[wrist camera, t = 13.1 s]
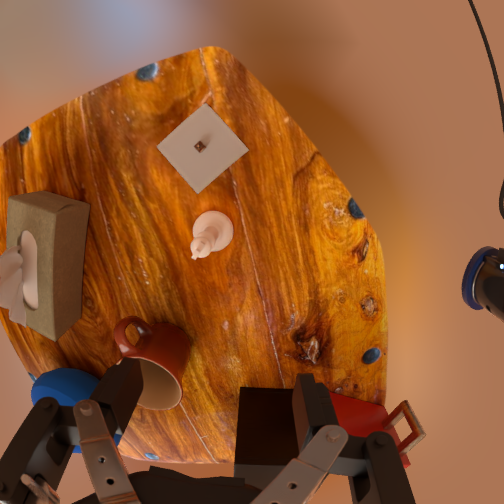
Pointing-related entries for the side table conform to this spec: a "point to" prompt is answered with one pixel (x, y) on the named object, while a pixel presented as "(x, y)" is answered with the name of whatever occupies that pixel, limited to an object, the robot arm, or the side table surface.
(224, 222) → the chess piece
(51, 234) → the tissue box
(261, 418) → the dark brown cabinet
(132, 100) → the side table surface
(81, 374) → the vase
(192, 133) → the grey square plate
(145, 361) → the mug
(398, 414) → the door
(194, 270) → the side table surface
